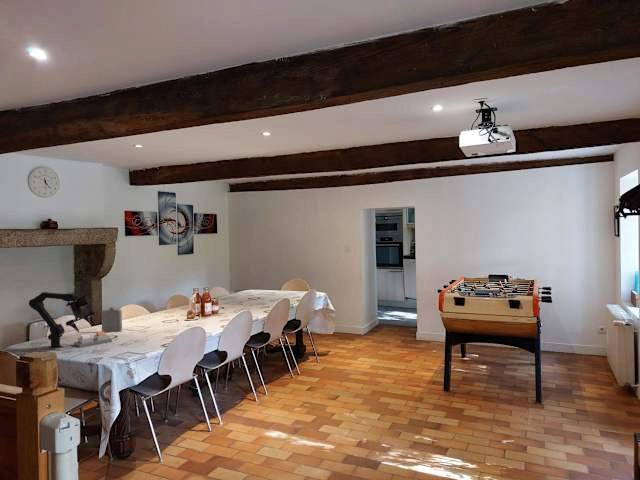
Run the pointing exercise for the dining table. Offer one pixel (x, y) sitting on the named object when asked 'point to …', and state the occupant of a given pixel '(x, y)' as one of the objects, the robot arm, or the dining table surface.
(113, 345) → the dining table surface
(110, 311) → the hip flask
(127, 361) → the dining table surface
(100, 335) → the key terracotta
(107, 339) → the key panel
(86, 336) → the key ivory
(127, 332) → the dining table surface
